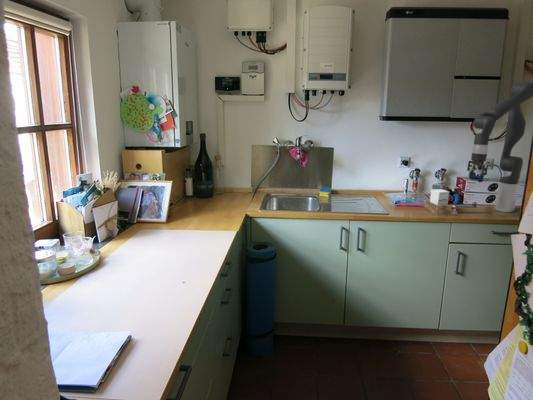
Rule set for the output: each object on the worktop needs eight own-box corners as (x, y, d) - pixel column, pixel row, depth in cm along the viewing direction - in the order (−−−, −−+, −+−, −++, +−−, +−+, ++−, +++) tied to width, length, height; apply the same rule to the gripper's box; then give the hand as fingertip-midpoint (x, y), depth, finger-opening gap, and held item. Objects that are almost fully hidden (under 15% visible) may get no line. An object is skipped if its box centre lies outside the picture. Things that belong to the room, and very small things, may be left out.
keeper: (444, 207, 240) (445, 199, 238) (458, 214, 226) (459, 205, 224) (423, 207, 238) (424, 199, 237) (436, 214, 224) (437, 206, 223)
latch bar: (474, 206, 229) (474, 201, 229) (476, 208, 227) (477, 202, 226) (451, 207, 228) (451, 202, 227) (453, 208, 225) (454, 203, 224)
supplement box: (436, 212, 228) (439, 192, 224) (428, 209, 235) (430, 189, 231) (446, 212, 230) (449, 191, 226) (438, 208, 236) (441, 188, 233)
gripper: (465, 150, 222) (461, 178, 227) (481, 154, 209) (477, 183, 213) (477, 150, 223) (473, 177, 227) (494, 154, 209) (489, 183, 214)
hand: (475, 180), depth 220 cm, fingers open, 8 cm apart
